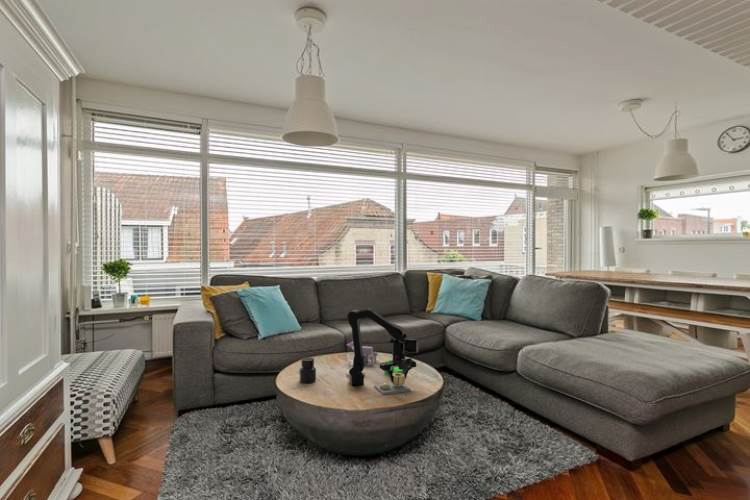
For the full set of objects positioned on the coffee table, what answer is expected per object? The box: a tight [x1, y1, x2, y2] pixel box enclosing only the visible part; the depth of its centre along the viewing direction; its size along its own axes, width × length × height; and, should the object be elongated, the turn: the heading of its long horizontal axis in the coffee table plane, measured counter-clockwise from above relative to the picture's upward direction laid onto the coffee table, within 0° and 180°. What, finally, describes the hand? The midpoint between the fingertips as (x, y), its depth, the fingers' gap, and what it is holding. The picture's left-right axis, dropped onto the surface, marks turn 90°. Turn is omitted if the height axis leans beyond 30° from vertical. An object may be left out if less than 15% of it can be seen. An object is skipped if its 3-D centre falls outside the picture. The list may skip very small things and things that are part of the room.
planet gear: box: [391, 373, 406, 386], centre depth 213 cm, size 6×6×4 cm
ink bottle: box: [298, 356, 317, 384], centre depth 225 cm, size 10×9×12 cm
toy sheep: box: [346, 340, 378, 367], centre depth 259 cm, size 20×11×14 cm, turn 70°
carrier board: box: [373, 382, 411, 396], centre depth 212 cm, size 15×12×4 cm
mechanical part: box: [384, 359, 403, 376], centre depth 239 cm, size 12×6×8 cm, turn 132°
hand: (398, 381), depth 213 cm, fingers closed on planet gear, 6 cm apart
